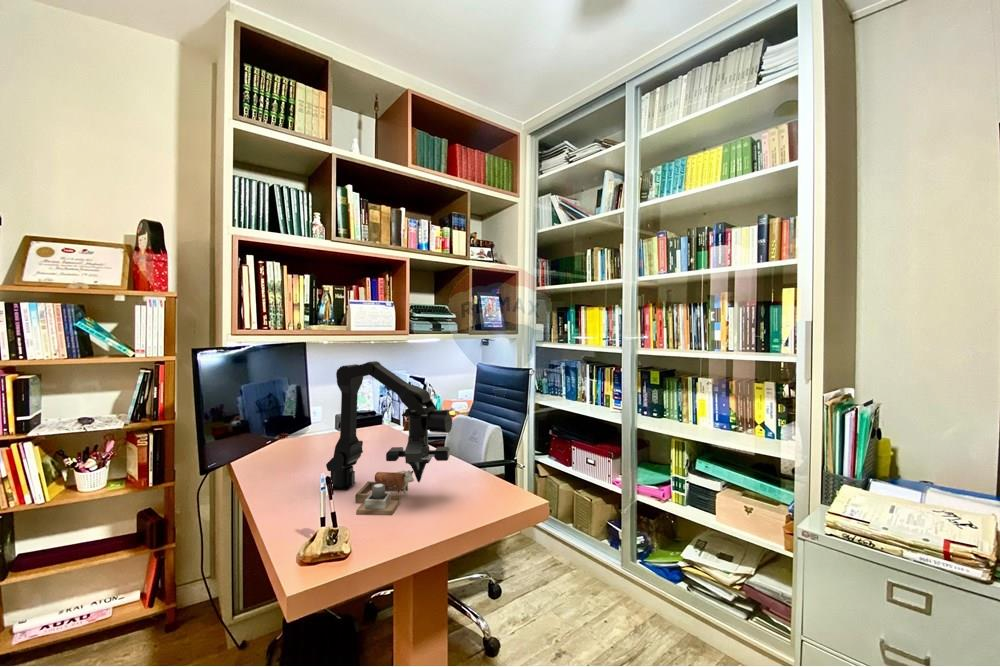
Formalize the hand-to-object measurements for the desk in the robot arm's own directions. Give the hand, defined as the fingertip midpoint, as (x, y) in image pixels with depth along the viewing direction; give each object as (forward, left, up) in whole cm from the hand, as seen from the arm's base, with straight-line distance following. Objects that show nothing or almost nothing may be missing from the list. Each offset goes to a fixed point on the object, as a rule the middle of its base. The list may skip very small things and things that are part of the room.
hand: (419, 481), depth 125 cm
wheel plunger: (-10, -9, -1) cm, 13 cm away
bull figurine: (-7, 0, -5) cm, 9 cm away
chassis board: (-11, -3, -5) cm, 13 cm away
